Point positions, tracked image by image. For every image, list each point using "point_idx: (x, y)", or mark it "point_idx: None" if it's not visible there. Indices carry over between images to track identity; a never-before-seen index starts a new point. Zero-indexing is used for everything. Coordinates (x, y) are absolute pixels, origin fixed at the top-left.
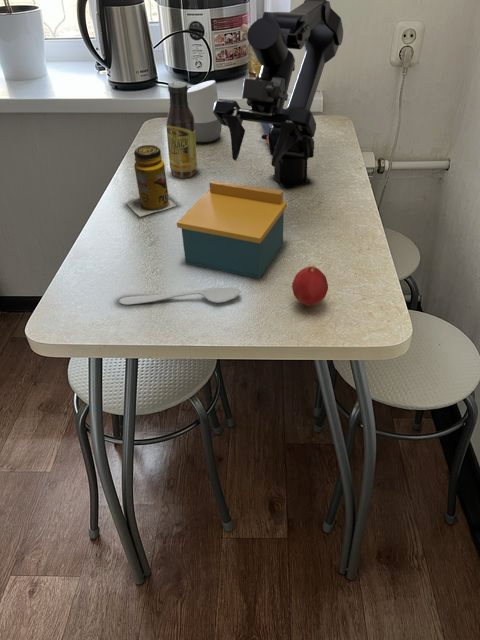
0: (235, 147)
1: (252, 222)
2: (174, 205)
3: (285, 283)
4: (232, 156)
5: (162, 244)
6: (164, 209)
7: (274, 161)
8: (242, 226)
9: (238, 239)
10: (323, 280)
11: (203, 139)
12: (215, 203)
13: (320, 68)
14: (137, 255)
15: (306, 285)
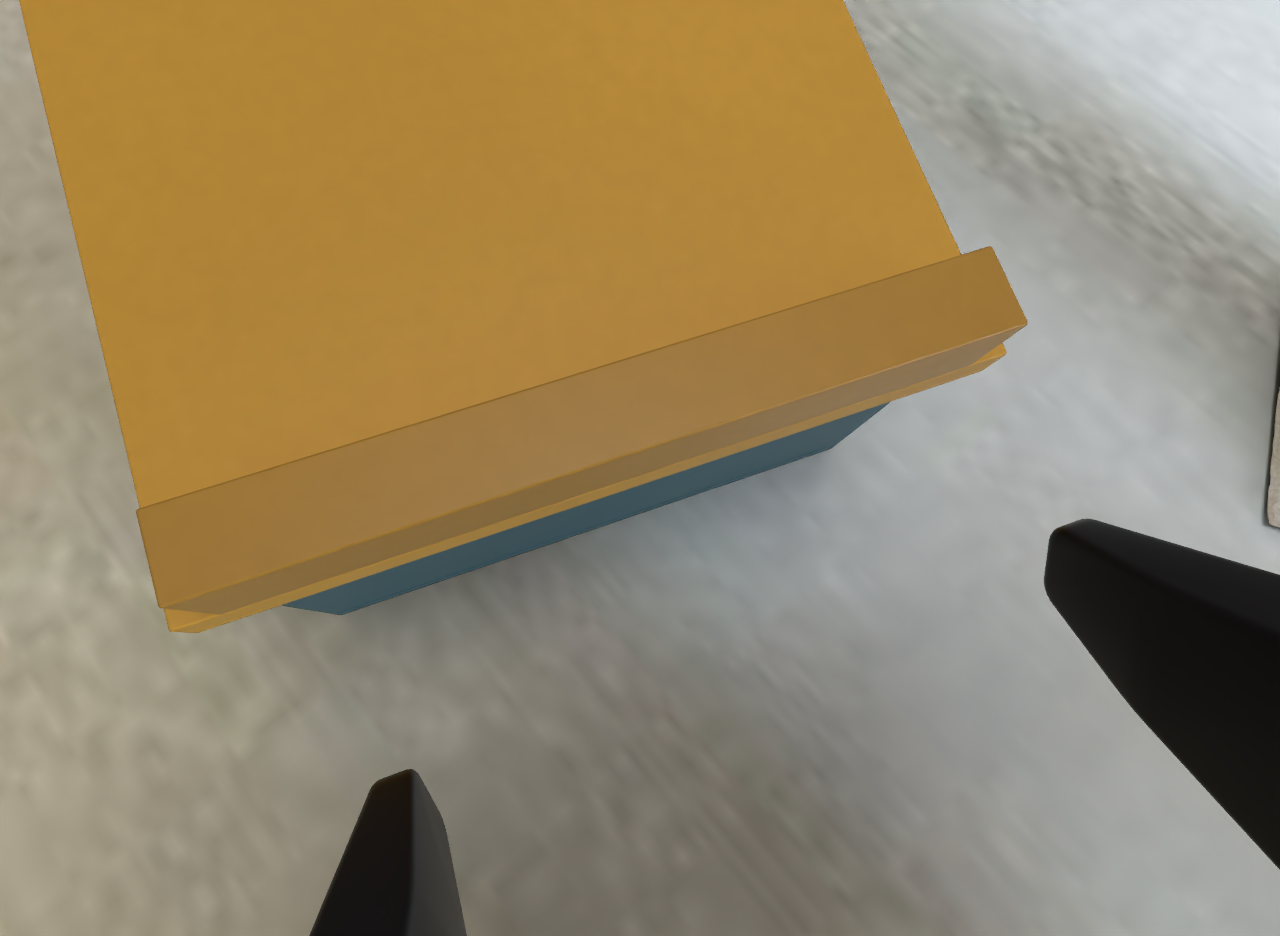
0: (1220, 603)
1: (228, 104)
2: (1278, 517)
3: (60, 262)
4: (1105, 525)
5: (937, 152)
6: (1275, 439)
7: (358, 825)
8: (266, 14)
9: None
10: None
11: None
12: (745, 175)
13: None
14: (943, 7)
15: None
